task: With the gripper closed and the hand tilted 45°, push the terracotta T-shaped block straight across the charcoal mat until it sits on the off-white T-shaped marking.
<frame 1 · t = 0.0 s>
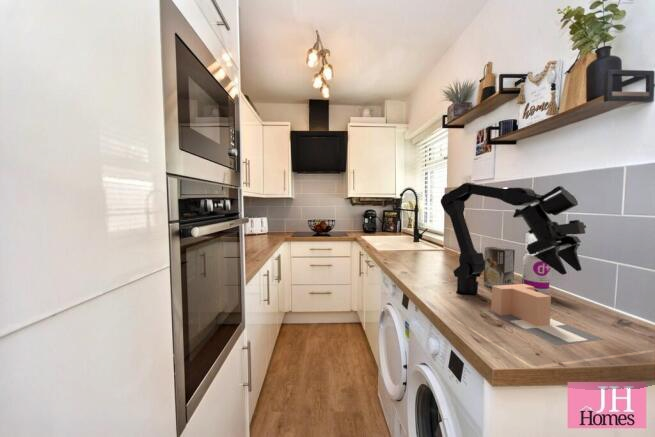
hand: (572, 272, 76), 15 cm above the worktop, tool tilted 35°, fingers open, 9 cm apart
t block: (524, 317, 80), resting on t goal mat
coffee box: (497, 287, 112), on the worktop
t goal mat: (551, 330, 73), on the worktop
supplement can: (535, 294, 104), on the worktop
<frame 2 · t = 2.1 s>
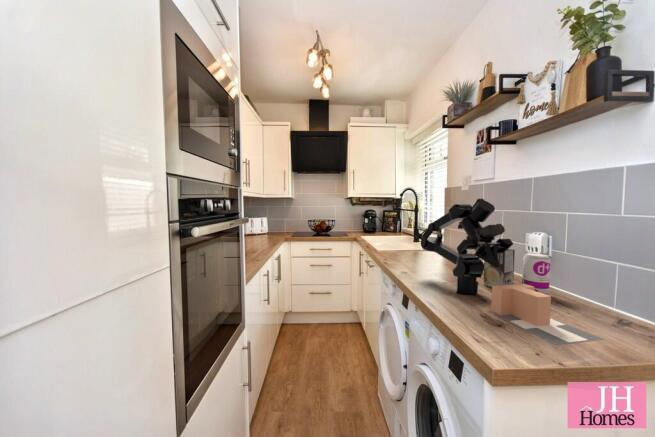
hand: (497, 267, 90), 13 cm above the worktop, tool tilted 45°, fingers closed
nothing on the worktop moved.
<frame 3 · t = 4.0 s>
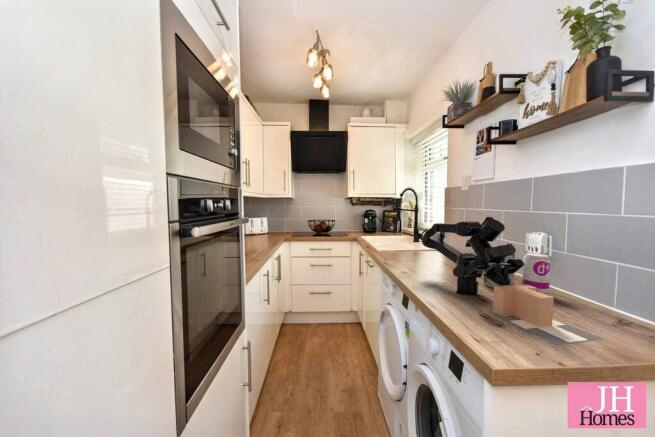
hand: (509, 290, 85), 7 cm above the worktop, tool tilted 45°, fingers closed
nothing on the worktop moved.
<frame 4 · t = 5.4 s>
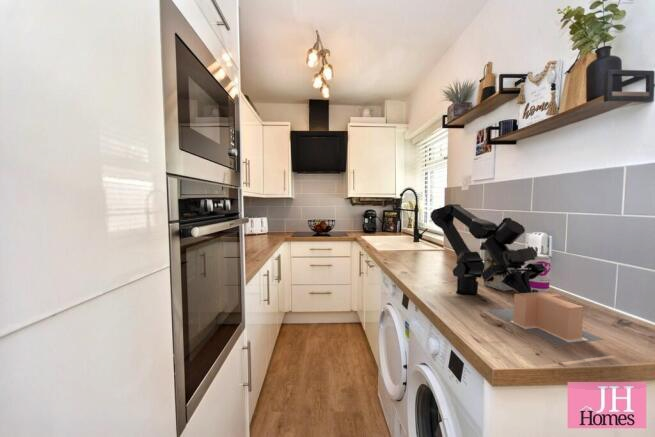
hand: (530, 297, 78), 7 cm above the worktop, tool tilted 45°, fingers closed
t block: (550, 328, 73), resting on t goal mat
everything else where it was.
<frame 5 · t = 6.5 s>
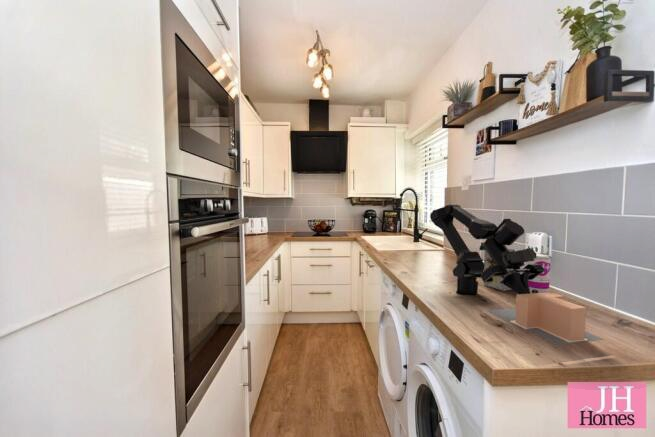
hand: (529, 298, 79), 6 cm above the worktop, tool tilted 45°, fingers closed
nothing on the worktop moved.
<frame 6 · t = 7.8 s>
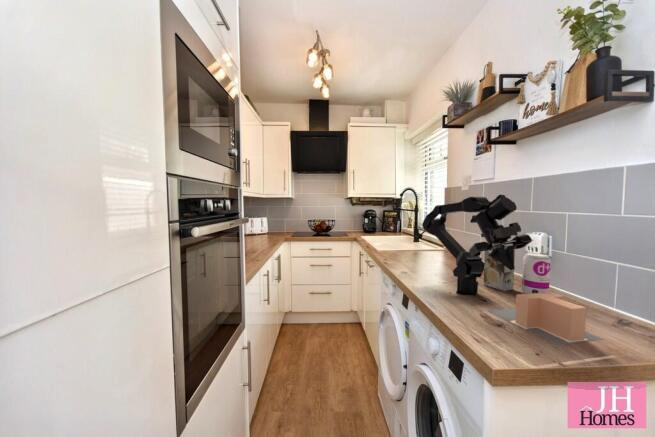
hand: (512, 269, 86), 13 cm above the worktop, tool tilted 35°, fingers closed
nothing on the worktop moved.
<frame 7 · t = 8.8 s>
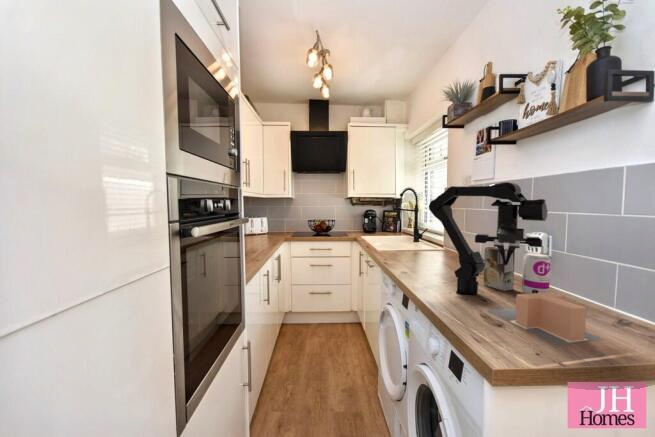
hand: (505, 265, 93), 13 cm above the worktop, tool pointing down, fingers closed
nothing on the worktop moved.
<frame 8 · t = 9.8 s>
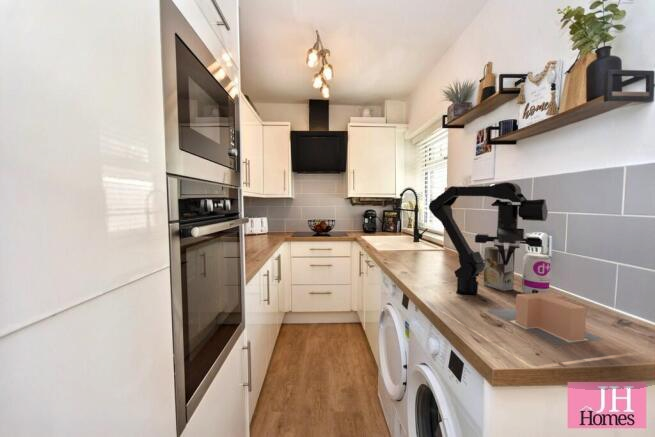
hand: (505, 265, 93), 13 cm above the worktop, tool pointing down, fingers closed
nothing on the worktop moved.
at the end: t block 0.4 cm off-centre on the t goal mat, point 0.4 cm above the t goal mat's base; t block tilted 0° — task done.
